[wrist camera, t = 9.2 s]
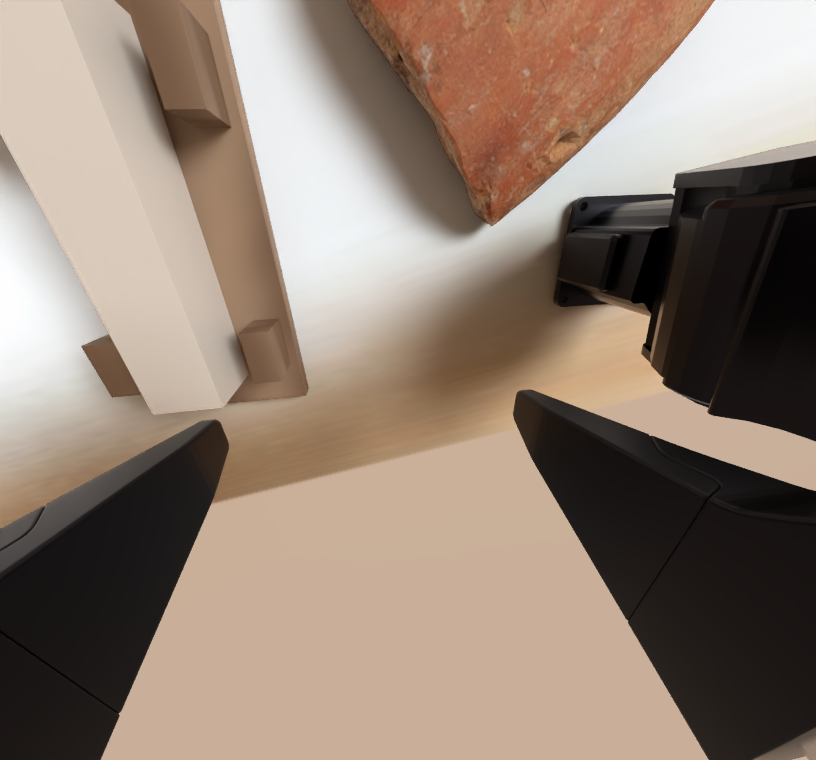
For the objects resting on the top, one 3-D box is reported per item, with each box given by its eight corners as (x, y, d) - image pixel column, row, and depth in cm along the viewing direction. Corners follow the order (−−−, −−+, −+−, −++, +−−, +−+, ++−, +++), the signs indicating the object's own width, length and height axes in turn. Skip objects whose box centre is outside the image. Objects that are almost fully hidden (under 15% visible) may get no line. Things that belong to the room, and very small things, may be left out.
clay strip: (130, 14, 12) (30, -75, 8) (248, 374, 19) (223, 407, 16) (31, 12, 11) (-118, -84, 8) (191, 379, 19) (152, 414, 15)
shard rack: (210, -41, 12) (157, -132, 9) (308, 388, 21) (299, 415, 18) (-75, -53, 11) (-247, -161, 8) (160, 402, 20) (124, 434, 17)
